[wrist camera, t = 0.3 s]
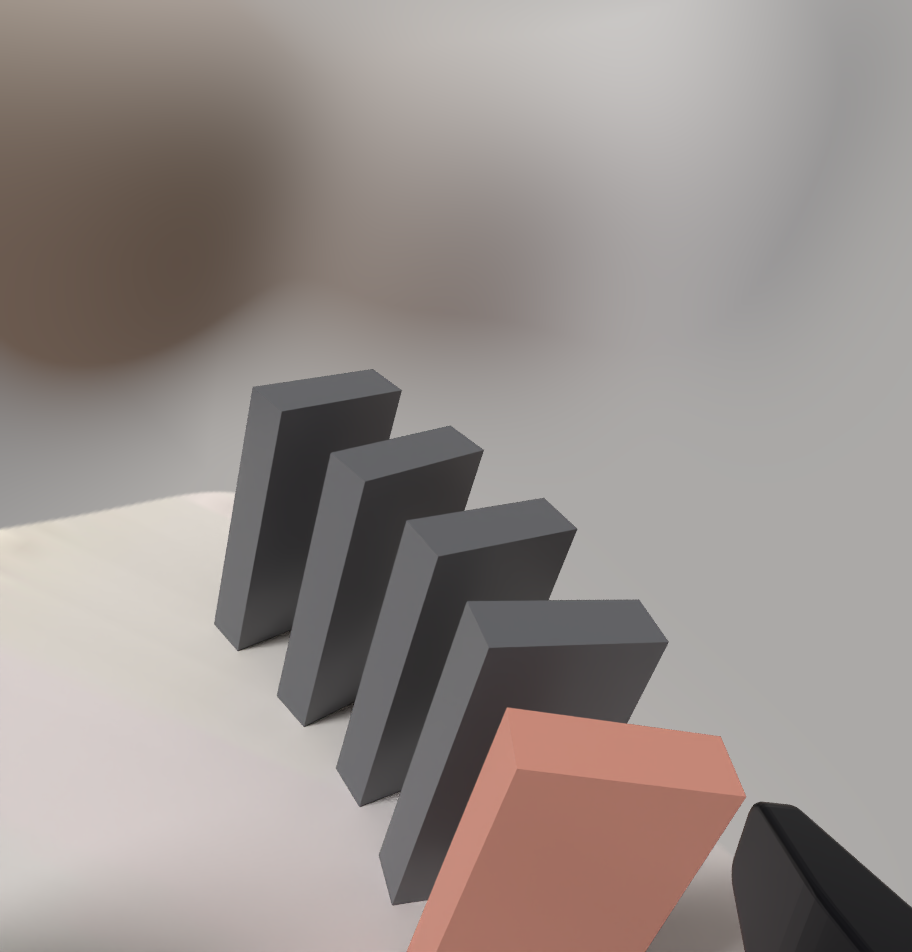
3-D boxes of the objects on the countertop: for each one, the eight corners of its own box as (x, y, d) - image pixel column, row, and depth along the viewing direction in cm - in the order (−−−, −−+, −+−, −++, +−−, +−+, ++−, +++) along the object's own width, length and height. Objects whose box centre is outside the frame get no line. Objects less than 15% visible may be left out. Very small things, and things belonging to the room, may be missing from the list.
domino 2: (411, 673, 33) (483, 450, 28) (303, 726, 29) (364, 481, 24) (384, 647, 34) (450, 425, 29) (276, 695, 30) (330, 452, 25)
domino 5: (586, 1042, 23) (746, 796, 18) (401, 1031, 22) (516, 769, 17) (574, 981, 24) (720, 736, 19) (400, 967, 23) (507, 707, 18)
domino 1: (345, 608, 35) (401, 390, 30) (237, 650, 32) (282, 411, 27) (321, 585, 36) (372, 369, 31) (214, 624, 32) (252, 387, 27)
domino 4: (545, 881, 27) (668, 641, 22) (392, 905, 25) (488, 648, 20) (526, 835, 28) (638, 599, 23) (378, 855, 26) (466, 601, 21)
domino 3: (483, 759, 30) (577, 528, 25) (359, 807, 27) (438, 556, 22) (458, 725, 31) (543, 497, 26) (336, 768, 28) (406, 520, 23)
